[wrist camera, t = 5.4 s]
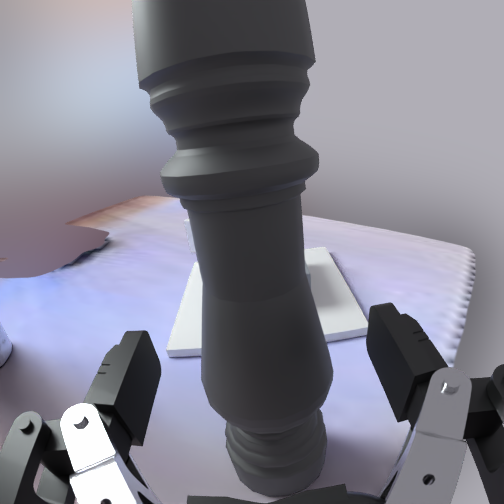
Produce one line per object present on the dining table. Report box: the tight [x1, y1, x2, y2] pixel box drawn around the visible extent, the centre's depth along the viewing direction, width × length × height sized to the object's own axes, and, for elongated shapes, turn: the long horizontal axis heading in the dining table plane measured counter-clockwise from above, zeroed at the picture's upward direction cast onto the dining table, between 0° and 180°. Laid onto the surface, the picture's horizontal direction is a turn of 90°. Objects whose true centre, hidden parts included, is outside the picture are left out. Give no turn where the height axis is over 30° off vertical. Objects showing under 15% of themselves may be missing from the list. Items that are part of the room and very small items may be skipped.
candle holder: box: [132, 0, 333, 496], centre depth 12 cm, size 6×6×25 cm
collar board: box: [166, 247, 368, 357], centre depth 36 cm, size 20×20×5 cm
